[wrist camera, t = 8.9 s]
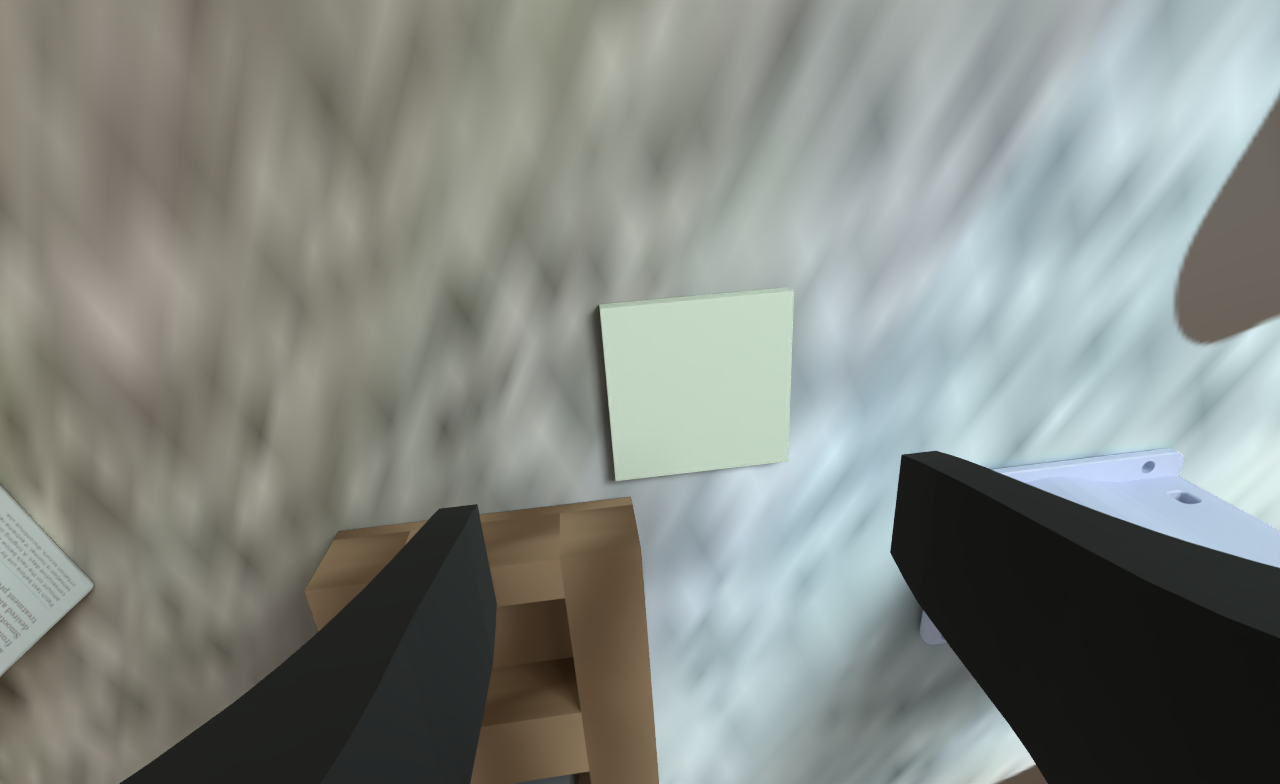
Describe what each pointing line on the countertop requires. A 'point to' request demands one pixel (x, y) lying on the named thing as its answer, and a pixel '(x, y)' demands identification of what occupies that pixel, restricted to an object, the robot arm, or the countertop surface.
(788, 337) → the coaster
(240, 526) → the countertop surface
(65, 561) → the small box
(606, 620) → the divided box
